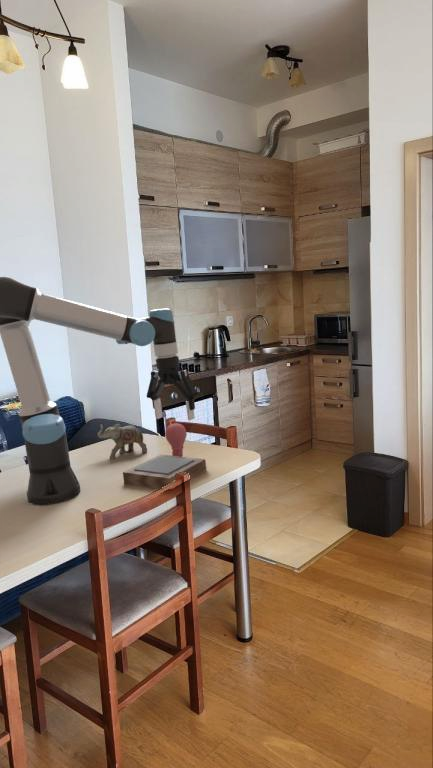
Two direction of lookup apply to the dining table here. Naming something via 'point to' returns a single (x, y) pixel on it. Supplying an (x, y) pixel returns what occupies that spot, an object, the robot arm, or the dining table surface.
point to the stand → (163, 470)
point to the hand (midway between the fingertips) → (175, 418)
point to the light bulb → (176, 438)
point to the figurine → (123, 438)
